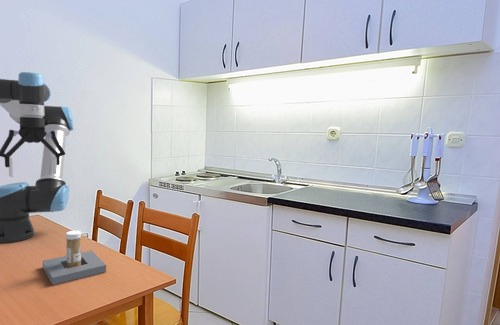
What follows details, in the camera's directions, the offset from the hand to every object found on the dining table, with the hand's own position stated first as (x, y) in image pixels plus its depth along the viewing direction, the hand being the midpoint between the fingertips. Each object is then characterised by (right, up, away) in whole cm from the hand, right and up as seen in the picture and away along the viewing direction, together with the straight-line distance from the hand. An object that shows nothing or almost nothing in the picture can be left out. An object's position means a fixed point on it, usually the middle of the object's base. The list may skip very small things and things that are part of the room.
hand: (33, 175), depth 119 cm
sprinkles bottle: (+19, -33, -7) cm, 38 cm away
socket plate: (+19, -32, -7) cm, 38 cm away
